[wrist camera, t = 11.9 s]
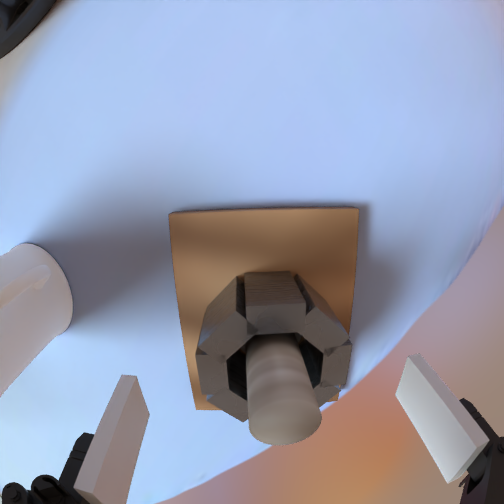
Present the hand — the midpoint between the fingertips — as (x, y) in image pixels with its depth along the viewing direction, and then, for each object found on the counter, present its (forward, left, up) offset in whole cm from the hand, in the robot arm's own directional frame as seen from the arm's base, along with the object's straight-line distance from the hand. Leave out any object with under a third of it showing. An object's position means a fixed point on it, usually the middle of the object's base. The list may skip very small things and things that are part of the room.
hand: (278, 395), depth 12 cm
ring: (+1, 0, -8) cm, 8 cm away
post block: (0, 0, -9) cm, 9 cm away
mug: (-3, -18, -9) cm, 20 cm away
